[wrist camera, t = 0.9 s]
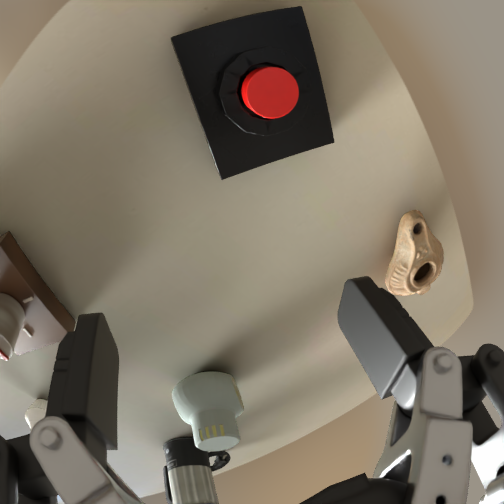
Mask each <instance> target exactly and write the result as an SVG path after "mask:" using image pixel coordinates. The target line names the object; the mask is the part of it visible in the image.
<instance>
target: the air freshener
mask: <svg viewBox="0 0 504 504" xmlns="http://www.w3.org/2000/svg"><path fill="white" fill-rule="evenodd" d="M172 398H173V402H174V405H175V407H176V409H177V411H178V413H179V415H180V416H181V418H182V419H183V420H184V421H185V422H186V423H188V424H191V425H192V430H193V436H194V441H195V446H196V447H197V448H199V449H200V450H203V451H211V452H213V451H222V450H226V449H229V448H232V447H234V446H235V445H237V444H238V442H239V441H240V435H239V431H238V427H237V423H236V418H237V417H238V416H239V415H240V414H241V413H242V412H243V411H244V406H243V402H242V399H241V396H240V393H239V390H238V387H237V385H236V383H235V380H234V378H233V376H232V375H229V374H226V373H222V372H201V373H197V374H194V375H191V376H189V377H187V378H185V379H183V380H182V381H180V382H179V383H178V384H177V385H176V386H175V388H174V389H173V391H172Z"/></svg>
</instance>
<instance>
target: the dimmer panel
mask: <svg viewBox="0 0 504 504" xmlns="http://www.w3.org/2000/svg"><path fill="white" fill-rule="evenodd" d="M0 293H4V294H7V295H9V296H11V297H13V298H14V299H16V300H17V301H18V302H19V303H20V305H21V306H22V308H23V310H24V313H25V319H24V322H23V325H22V328H21V331H20V333H19V336H18V339H17V342H16V345H15V348H14V352H15V353H16V354H17V355H18V356H19V355H22V354H25V353H27V352H30V351H33V350H36V349H39V348H42V347H45V346H48V345H51V344H54V343H57V342H60V341H62V339H63V338H64V336H65V335H66V334H67V332H73V331H74V327H75V323H76V321H75V320H74V319H73V318H72V316H71V315H70V314H69V313H68V312H67V310H66V309H65V308H64V307H63V305H62V304H61V303H60V302H59V301H58V299H57V298H56V297H55V295H54V294H53V293H52V292H51V290H50V289H49V288H48V286H47V285H46V284H45V282H44V281H43V280H42V278H41V277H40V276H39V274H38V273H37V272H36V270H35V269H34V267H33V266H32V265H31V263H30V262H29V260H28V259H27V257H26V256H25V255H24V253H23V252H22V250H21V249H20V247H19V246H18V244H17V243H16V241H15V239H14V238H13V236H12V235H11V233H10V232H9V231H8V232H7V233H5V234H4V235H2V236H1V237H0Z"/></svg>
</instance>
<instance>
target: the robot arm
mask: <svg viewBox="0 0 504 504" xmlns="http://www.w3.org/2000/svg"><path fill="white" fill-rule="evenodd" d="M338 323H339V326H340V328H341V330H342V332H343V334H344V335H345V337H346V339H347V340H348V342H349V344H350V345H351V347H352V349H353V351H354V352H355V354H356V356H357V357H358V359H359V361H360V363H361V364H362V366H363V368H364V370H365V371H366V373H367V375H368V377H369V378H370V380H371V382H372V384H373V385H374V387H375V389H376V391H377V392H378V394H379V396H380V397H381V399H384V398H387V397H389V396H392V395H393V396H394V398H395V399H396V400H395V402H394V405H393V409H392V415H391V420H390V425H389V430H388V435H387V439H386V444H385V448H384V452H383V454H382V456H381V458H380V459H379V461H378V464H377V466H376V468H375V471H374V474H373V478H367V476H366V474H365V473H363V474H360V475H358V476H355V477H353V478H350V479H347V480H345V481H342V482H339V483H336V484H334V485H331V486H329V487H327V488H325V489H324V490H322V491H320V492H319V493H317V494H315V495H314V496H312V497H310V498H309V499H307V500H305V501H303V502H301V503H300V504H466V501H467V494H468V487H469V478H470V468H471V460H472V462H473V464H474V466H475V468H476V470H477V473H478V474H479V477H480V479H481V481H482V483H483V485H484V488H485V490H486V491H485V495H483V496H482V497H481V499H480V504H504V352H503V350H501V349H500V348H499V347H498V346H496V345H493V344H484V345H482V346H481V347H480V348H479V350H478V351H477V353H476V354H475V355H472V356H459V357H457V356H456V354H455V353H453V352H452V351H451V350H449V349H447V348H444V347H434V346H433V345H432V343H431V342H430V341H429V339H428V338H427V337H426V335H425V334H424V333H423V331H422V330H421V329H420V328H419V326H418V325H417V324H416V322H415V321H414V320H413V319H412V317H411V316H410V317H409V314H408V312H407V311H406V310H405V309H404V308H402V305H401V304H400V302H399V301H398V300H397V299H396V298H395V296H394V295H392V294H391V293H389V292H388V291H386V290H385V289H383V288H378V286H377V285H376V284H375V283H374V282H373V280H372V279H371V278H370V277H368V276H364V277H359V278H353V279H348V280H347V281H346V282H345V285H344V289H343V293H342V297H341V301H340V305H339V309H338ZM118 371H119V355H118V349H117V346H116V343H115V341H114V338H113V336H112V333H111V331H110V329H109V326H108V324H107V321H106V319H105V316H104V314H103V313H92V314H81V315H79V317H78V321H77V325H76V329H75V331H73V332H67V334H66V335H65V336H64V338H63V339H62V341H61V342H60V344H59V347H58V351H57V356H56V361H55V365H54V372H53V375H52V380H51V385H50V390H49V396H48V402H47V409H46V414H45V417H44V418H43V419H41V420H39V421H38V422H37V423H36V424H35V425H34V427H33V428H32V430H31V433H30V434H28V435H24V436H21V437H17V438H13V439H9V440H5V439H4V438H3V437H2V436H1V435H0V504H58V503H57V495H59V496H60V497H61V499H62V500H63V502H64V503H65V504H145V503H144V502H143V501H142V500H141V499H140V498H139V497H138V496H137V495H136V494H135V493H134V492H133V491H132V490H131V489H130V488H129V487H128V485H127V484H126V483H125V482H124V481H123V480H122V479H121V478H120V476H119V475H118V474H117V473H116V472H115V471H114V469H113V468H112V467H111V466H110V465H109V464H108V462H107V450H118V449H117V397H118ZM486 395H488V397H489V399H490V400H491V402H492V404H493V405H494V407H495V409H496V410H497V412H498V413H499V415H500V417H501V420H502V425H501V428H500V429H499V428H497V427H496V425H495V423H494V421H493V420H492V418H491V417H490V415H489V413H488V411H487V409H486V408H485V406H484V404H483V403H482V400H483V399H484V398H485V396H486Z"/></svg>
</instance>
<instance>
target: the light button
mask: <svg viewBox="0 0 504 504" xmlns="http://www.w3.org/2000/svg"><path fill="white" fill-rule="evenodd" d="M241 96H242V99H243V102H244V103H245V105H246V106H247V107H248V108H249V109H250V110H251V111H253V112H254V113H256V114H258V115H260V116H262V117H265V118H271V119H274V118H280V117H283V116H285V115H286V114H288V113H289V112H290V111H291V110H292V109H293V108H294V107H295V105H296V103H297V101H298V97H299V88H298V84H297V82H296V80H295V78H294V77H293V76H292V75H291V74H290V73H289V72H288V71H286V70H284V69H282V68H278V67H261V68H257V69H255V70H253V71H251V72H250V73H249V74H248V75H247V76H246V77H245V79H244V81H243V83H242V87H241Z"/></svg>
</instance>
